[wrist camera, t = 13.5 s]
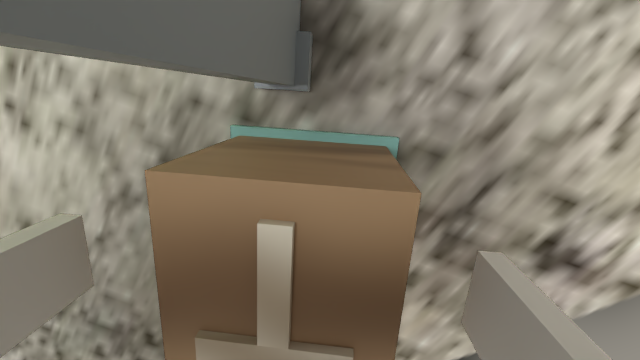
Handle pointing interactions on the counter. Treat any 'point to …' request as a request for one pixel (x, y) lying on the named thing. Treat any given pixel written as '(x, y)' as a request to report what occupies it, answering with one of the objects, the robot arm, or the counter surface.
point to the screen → (171, 35)
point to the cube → (282, 250)
